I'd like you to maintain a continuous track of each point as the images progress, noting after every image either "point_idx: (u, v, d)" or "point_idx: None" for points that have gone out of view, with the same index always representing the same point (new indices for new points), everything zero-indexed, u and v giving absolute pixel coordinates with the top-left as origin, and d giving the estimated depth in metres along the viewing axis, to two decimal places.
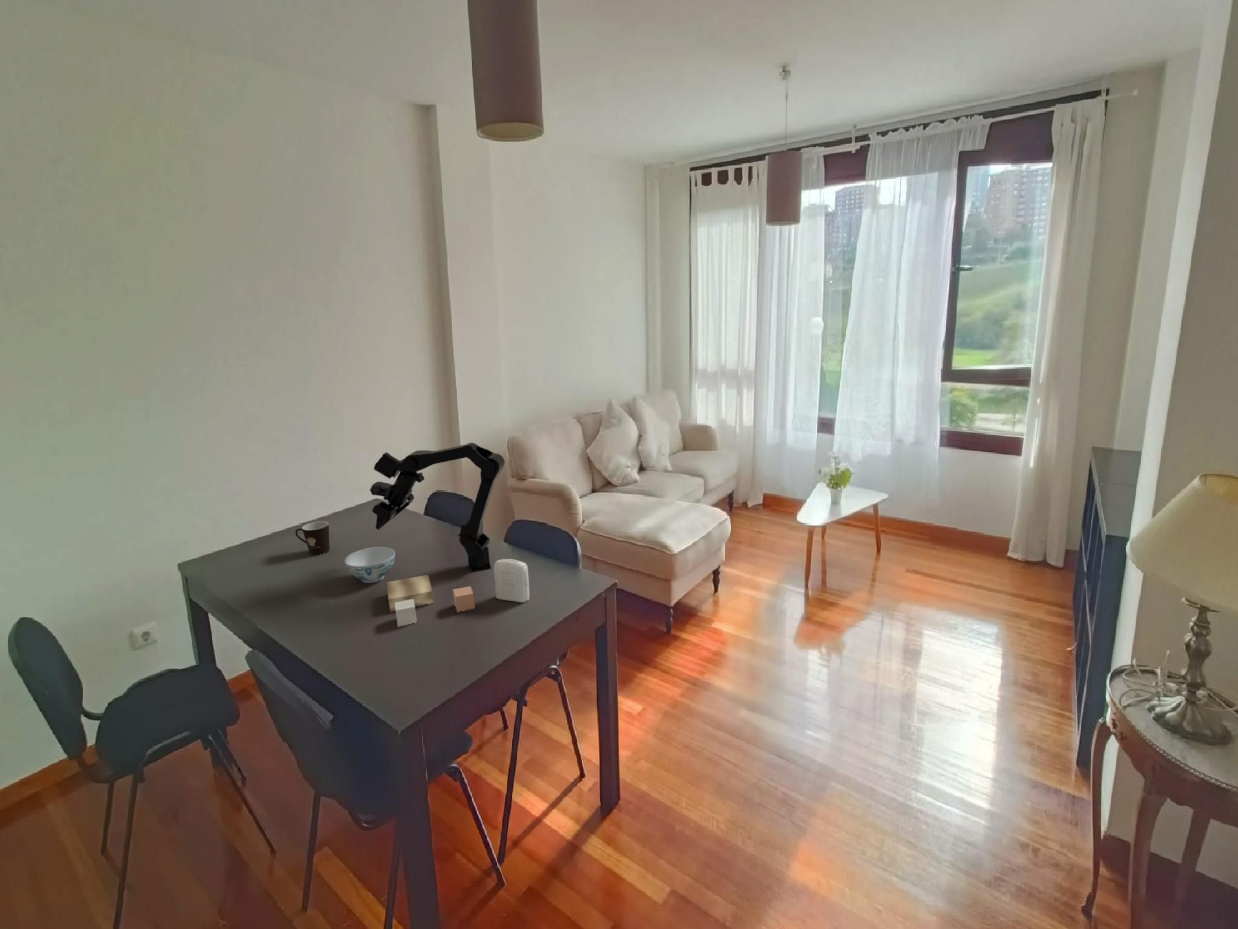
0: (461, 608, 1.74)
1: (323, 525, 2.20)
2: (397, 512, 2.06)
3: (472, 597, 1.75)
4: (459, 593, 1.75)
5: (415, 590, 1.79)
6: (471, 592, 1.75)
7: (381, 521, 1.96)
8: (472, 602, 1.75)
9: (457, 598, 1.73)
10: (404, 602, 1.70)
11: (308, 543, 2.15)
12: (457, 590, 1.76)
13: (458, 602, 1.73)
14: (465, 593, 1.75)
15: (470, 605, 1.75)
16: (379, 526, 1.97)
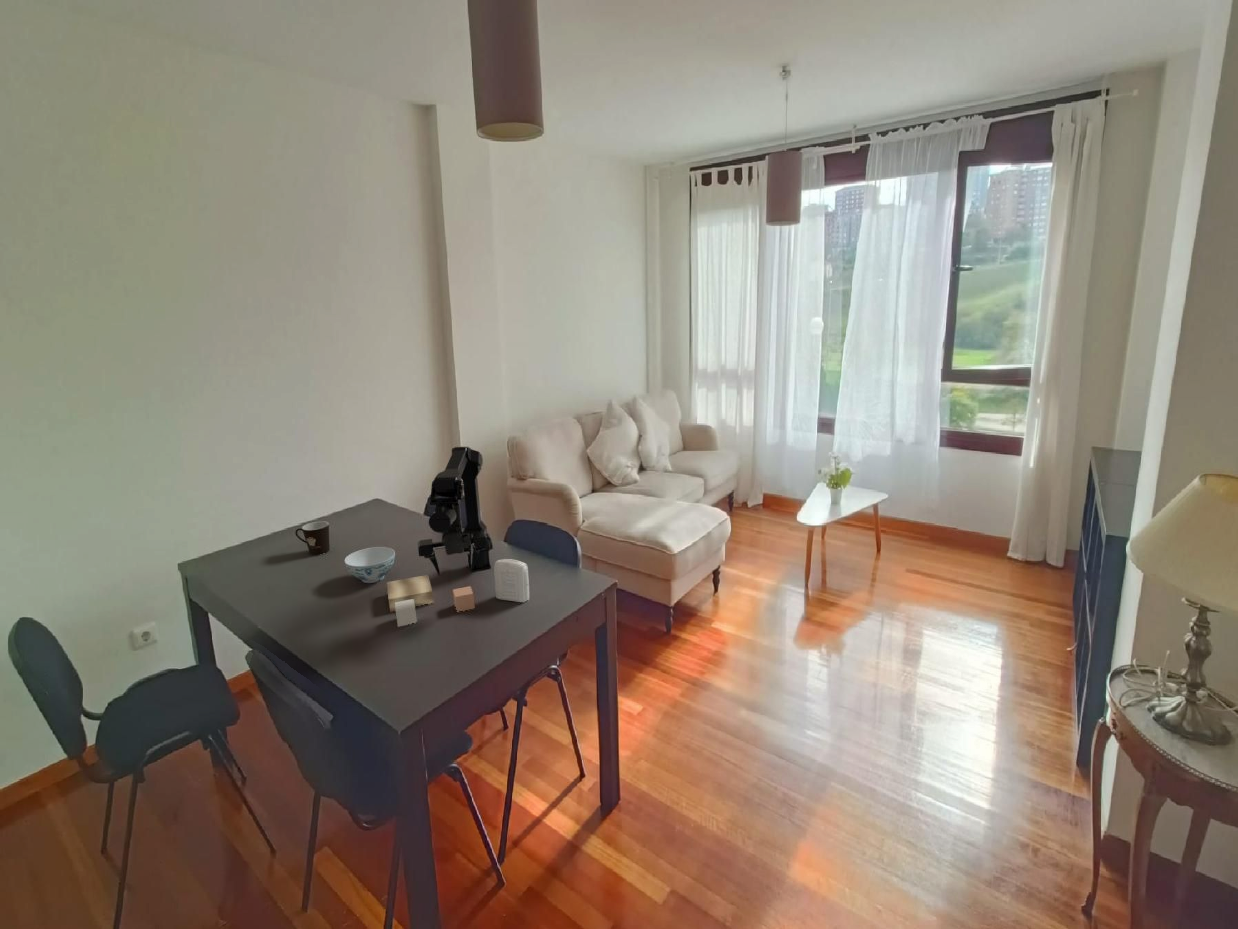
0: (461, 608, 1.74)
1: (323, 525, 2.20)
2: None
3: (472, 597, 1.75)
4: (459, 593, 1.75)
5: (415, 590, 1.79)
6: (471, 592, 1.75)
7: None
8: (472, 602, 1.75)
9: (457, 598, 1.73)
10: (404, 602, 1.70)
11: (308, 543, 2.15)
12: (457, 590, 1.76)
13: (458, 602, 1.73)
14: (465, 593, 1.75)
15: (470, 605, 1.75)
16: None
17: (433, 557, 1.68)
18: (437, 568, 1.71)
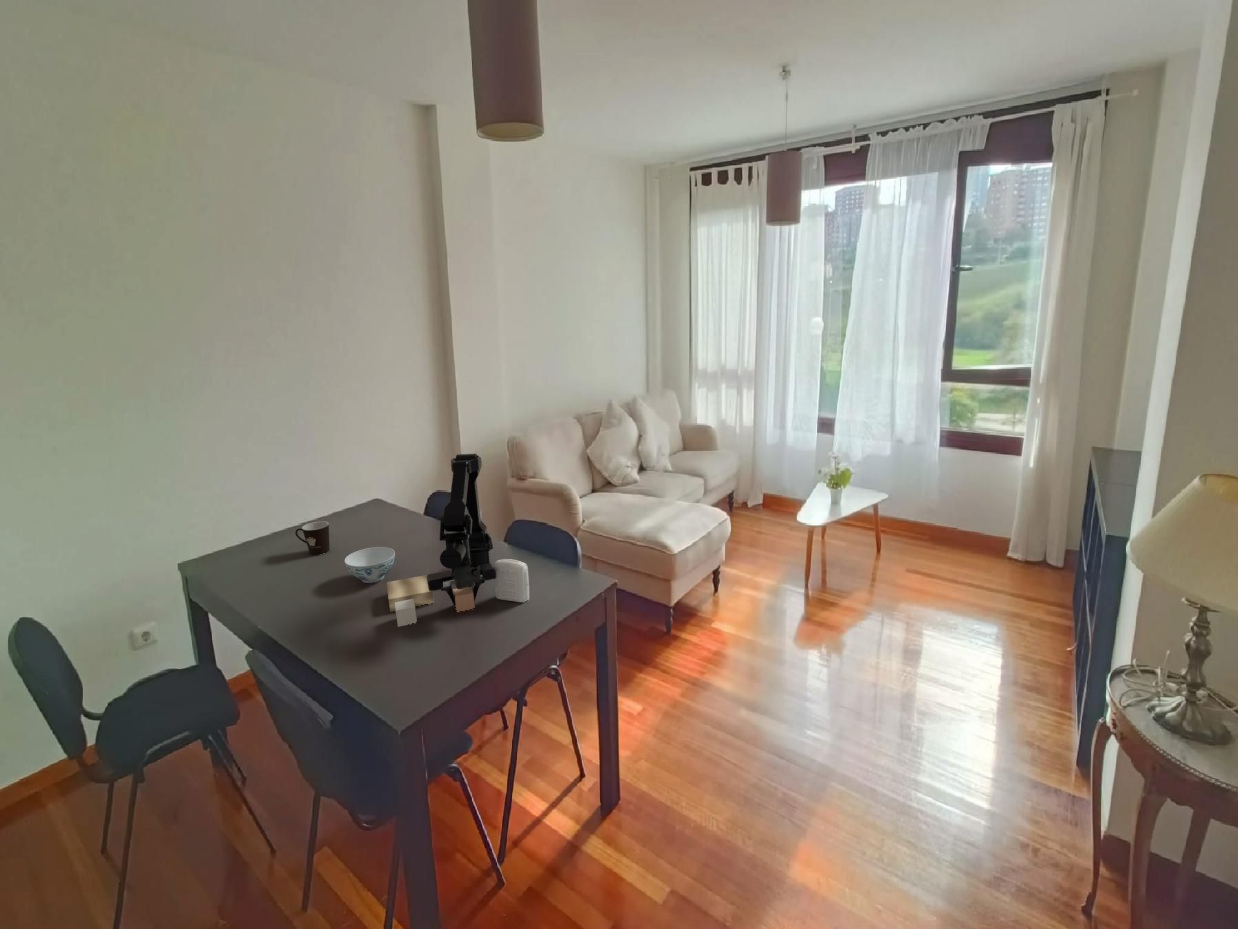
0: (461, 608, 1.74)
1: (323, 525, 2.20)
2: None
3: (472, 597, 1.75)
4: (459, 592, 1.75)
5: (415, 590, 1.79)
6: (471, 592, 1.75)
7: None
8: (472, 602, 1.75)
9: (457, 598, 1.73)
10: (404, 602, 1.70)
11: (308, 543, 2.15)
12: (457, 590, 1.76)
13: (458, 602, 1.73)
14: (464, 593, 1.75)
15: (470, 605, 1.75)
16: None
17: (450, 589, 1.72)
18: (453, 600, 1.74)
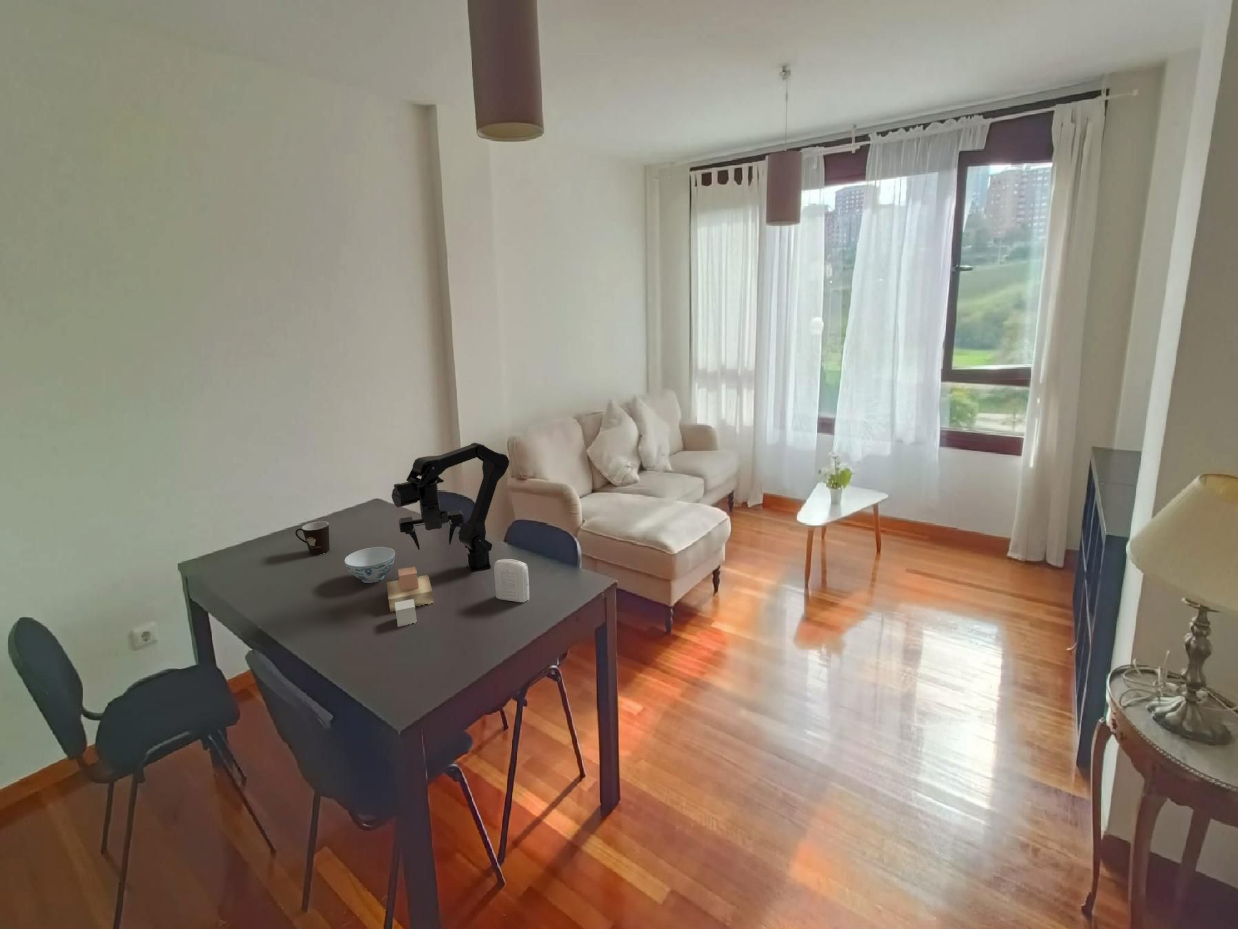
0: (404, 587, 1.79)
1: (323, 525, 2.20)
2: None
3: (416, 576, 1.79)
4: (403, 572, 1.79)
5: (415, 590, 1.79)
6: (415, 572, 1.79)
7: None
8: (416, 581, 1.79)
9: (400, 577, 1.77)
10: (404, 602, 1.70)
11: (308, 543, 2.15)
12: (402, 570, 1.81)
13: (402, 581, 1.78)
14: (408, 572, 1.79)
15: (413, 584, 1.79)
16: None
17: (413, 533, 1.84)
18: (417, 543, 1.87)
